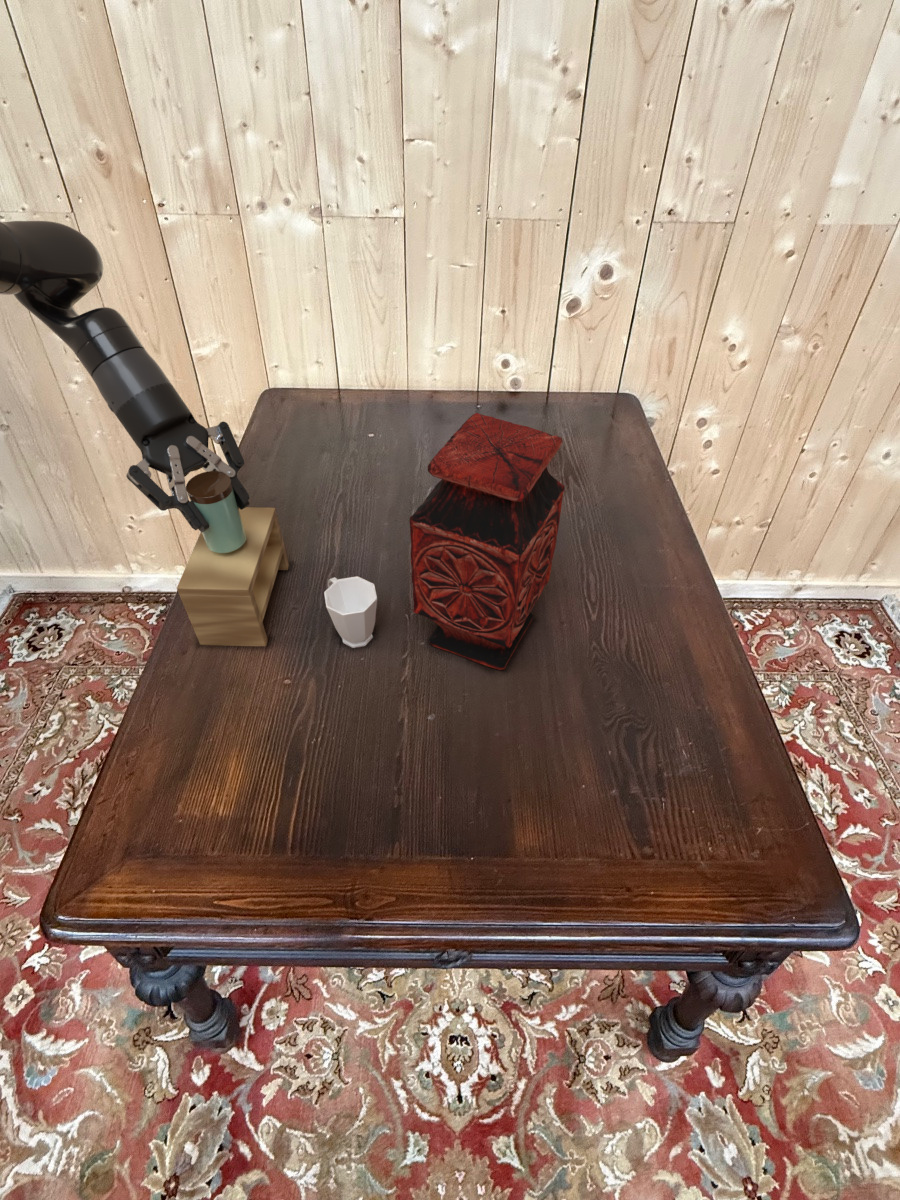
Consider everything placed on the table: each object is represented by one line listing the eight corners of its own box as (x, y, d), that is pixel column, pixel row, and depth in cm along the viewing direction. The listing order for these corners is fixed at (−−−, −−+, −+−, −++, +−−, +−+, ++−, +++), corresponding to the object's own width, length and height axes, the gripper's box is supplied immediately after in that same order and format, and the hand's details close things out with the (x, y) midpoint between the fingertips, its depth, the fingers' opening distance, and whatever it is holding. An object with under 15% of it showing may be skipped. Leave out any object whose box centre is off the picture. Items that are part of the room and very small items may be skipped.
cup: (347, 664, 91) (339, 623, 85) (312, 617, 97) (302, 577, 91) (392, 640, 94) (388, 599, 88) (356, 597, 99) (349, 555, 94)
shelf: (266, 646, 93) (248, 589, 85) (200, 645, 93) (176, 588, 85) (289, 564, 104) (275, 507, 96) (230, 563, 104) (211, 506, 96)
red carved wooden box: (508, 687, 88) (524, 501, 66) (414, 650, 93) (400, 464, 71) (547, 615, 97) (574, 429, 75) (460, 584, 101) (460, 400, 79)
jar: (243, 552, 88) (226, 496, 82) (201, 554, 88) (181, 498, 82) (249, 525, 92) (233, 470, 85) (209, 527, 92) (190, 471, 85)
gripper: (89, 410, 76) (182, 540, 79) (200, 362, 83) (281, 483, 86) (84, 434, 82) (170, 553, 85) (188, 387, 90) (263, 499, 93)
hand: (225, 517), depth 86 cm, fingers closed on jar, 5 cm apart
